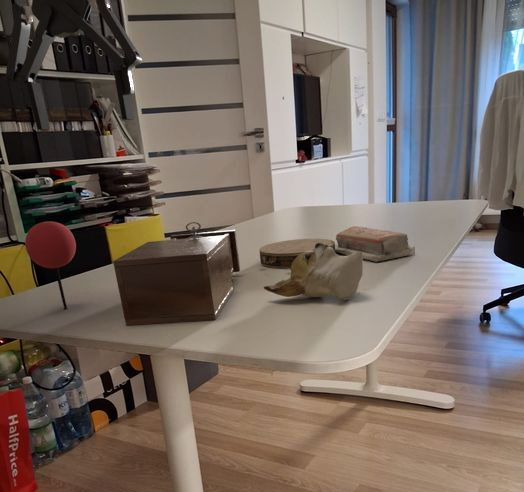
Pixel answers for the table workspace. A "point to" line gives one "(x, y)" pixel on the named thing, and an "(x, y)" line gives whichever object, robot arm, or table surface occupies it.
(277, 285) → the ceramic sculpture
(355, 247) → the old brick
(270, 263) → the tambourine
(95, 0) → the robot arm
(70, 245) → the lollipop
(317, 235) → the table surface
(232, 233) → the drawer
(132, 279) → the wooden box
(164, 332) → the table surface
